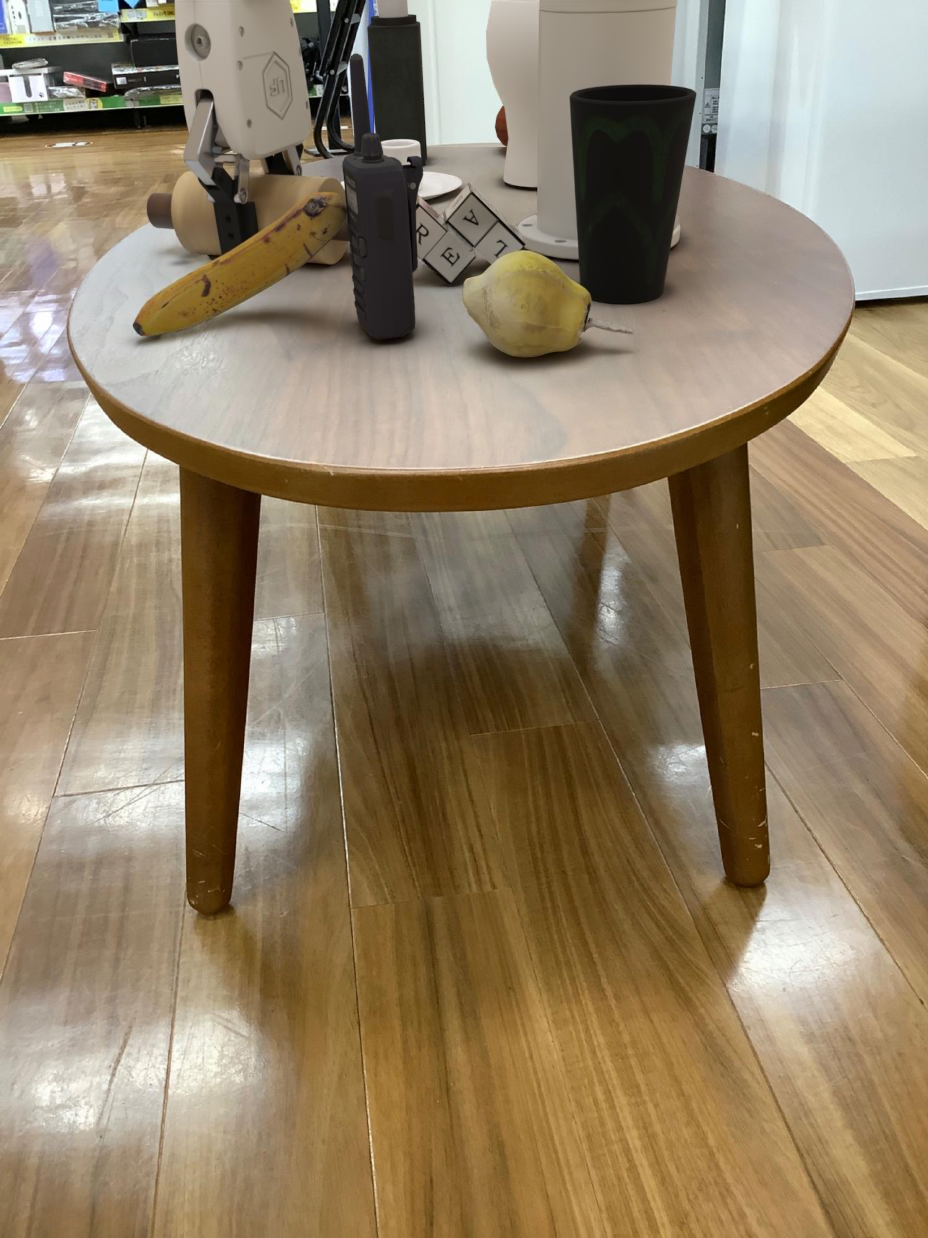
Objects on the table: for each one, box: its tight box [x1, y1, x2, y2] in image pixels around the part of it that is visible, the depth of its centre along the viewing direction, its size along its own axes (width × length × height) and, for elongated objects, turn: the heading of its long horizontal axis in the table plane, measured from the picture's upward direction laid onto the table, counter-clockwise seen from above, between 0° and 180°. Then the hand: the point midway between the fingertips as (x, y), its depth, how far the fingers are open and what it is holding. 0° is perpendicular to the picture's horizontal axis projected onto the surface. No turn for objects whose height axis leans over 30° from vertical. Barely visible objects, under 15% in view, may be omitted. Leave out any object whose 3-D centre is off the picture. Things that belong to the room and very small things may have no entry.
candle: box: [366, 0, 428, 166], centre depth 100 cm, size 5×5×25 cm
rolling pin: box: [146, 170, 349, 265], centre depth 76 cm, size 19×6×6 cm, turn 69°
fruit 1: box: [132, 192, 347, 337], centre depth 61 cm, size 15×9×3 cm
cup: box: [569, 84, 697, 305], centre depth 65 cm, size 8×8×12 cm
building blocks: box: [416, 182, 526, 287], centre depth 71 cm, size 5×5×8 cm
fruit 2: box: [462, 249, 634, 358], centre depth 58 cm, size 6×6×10 cm
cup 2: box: [485, 0, 539, 188], centre depth 92 cm, size 11×11×15 cm
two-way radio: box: [341, 53, 424, 341], centre depth 58 cm, size 6×4×15 cm
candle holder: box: [339, 139, 463, 201], centre depth 94 cm, size 12×12×4 cm
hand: (265, 243), depth 77 cm, fingers closed on rolling pin, 6 cm apart
